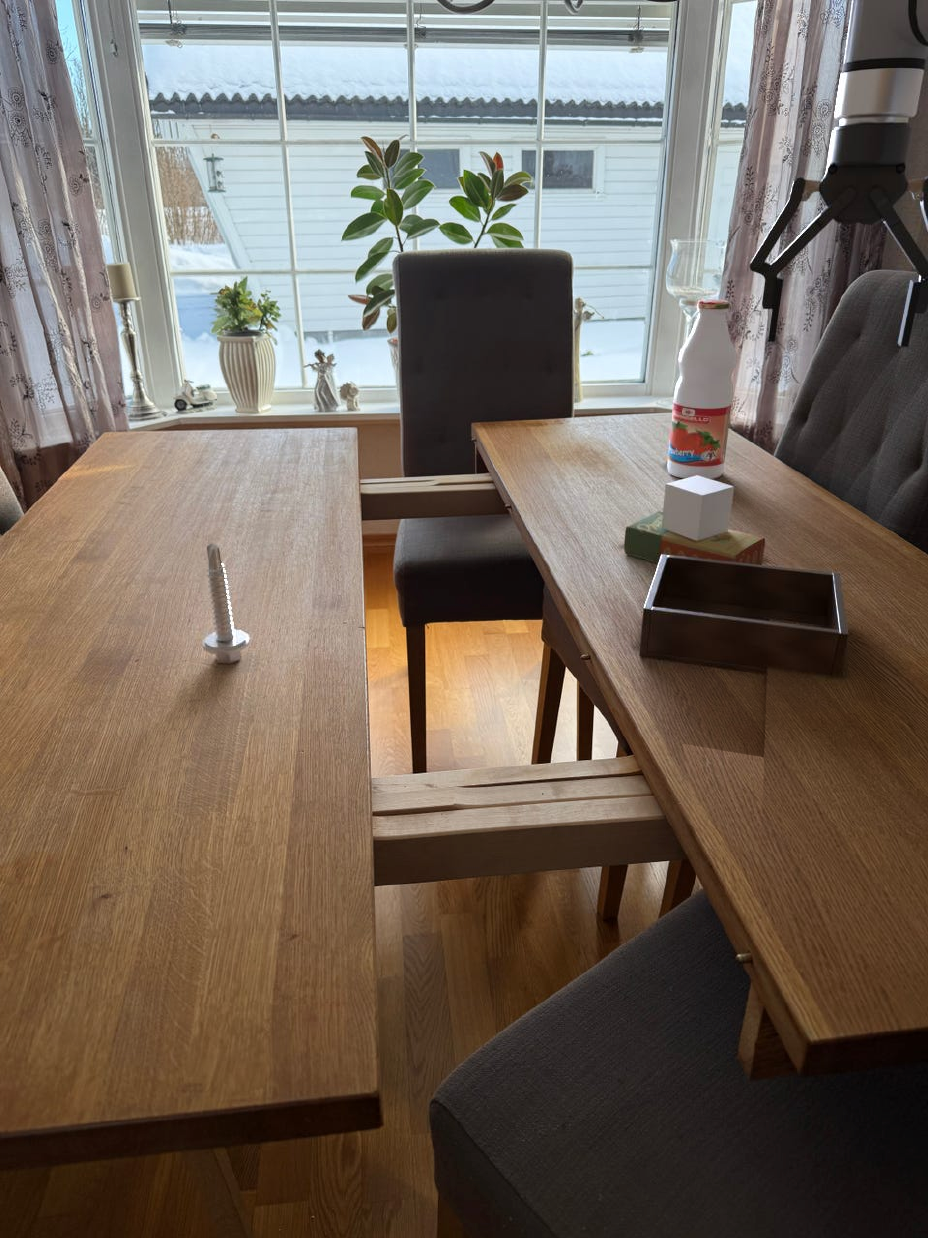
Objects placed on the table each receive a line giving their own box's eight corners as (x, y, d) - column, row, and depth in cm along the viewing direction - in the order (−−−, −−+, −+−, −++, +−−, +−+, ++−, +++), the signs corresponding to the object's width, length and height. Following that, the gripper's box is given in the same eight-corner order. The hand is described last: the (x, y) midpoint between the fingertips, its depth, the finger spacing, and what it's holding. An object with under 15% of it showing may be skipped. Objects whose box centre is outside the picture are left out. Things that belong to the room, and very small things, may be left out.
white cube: (697, 541, 111) (702, 495, 108) (661, 527, 115) (665, 483, 113) (728, 530, 114) (734, 486, 111) (692, 518, 118) (697, 474, 116)
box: (831, 618, 101) (840, 573, 98) (838, 684, 87) (848, 634, 85) (657, 597, 106) (661, 553, 104) (639, 656, 93) (643, 608, 90)
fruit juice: (733, 473, 151) (756, 300, 139) (702, 484, 146) (723, 305, 133) (687, 462, 158) (705, 295, 145) (655, 472, 152) (671, 300, 140)
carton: (731, 586, 109) (735, 554, 107) (621, 554, 119) (623, 524, 117) (762, 566, 114) (767, 535, 112) (655, 537, 124) (657, 508, 122)
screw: (242, 670, 91) (197, 668, 91) (258, 648, 95) (215, 646, 96) (226, 553, 85) (178, 551, 86) (244, 535, 89) (198, 533, 90)
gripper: (1005, 121, 88) (955, 341, 97) (745, 128, 95) (721, 333, 105) (1022, 116, 82) (967, 352, 91) (742, 124, 89) (717, 342, 98)
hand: (835, 342), depth 98 cm, fingers open, 13 cm apart
